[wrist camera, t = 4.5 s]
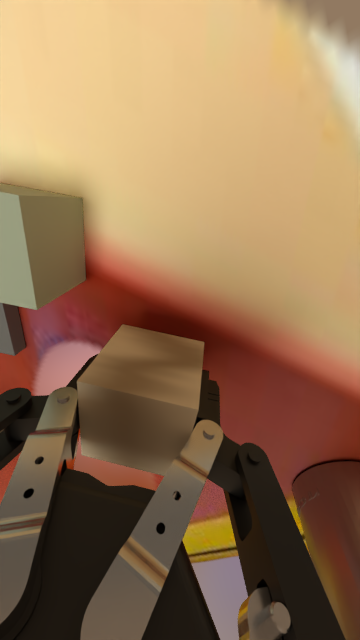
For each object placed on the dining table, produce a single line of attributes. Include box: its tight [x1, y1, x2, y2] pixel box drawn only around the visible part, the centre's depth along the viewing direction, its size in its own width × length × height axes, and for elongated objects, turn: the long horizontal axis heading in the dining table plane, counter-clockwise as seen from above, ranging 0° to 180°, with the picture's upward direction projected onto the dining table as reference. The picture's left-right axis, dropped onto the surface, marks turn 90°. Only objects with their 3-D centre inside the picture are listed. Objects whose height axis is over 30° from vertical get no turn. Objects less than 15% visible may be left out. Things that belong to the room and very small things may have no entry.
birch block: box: [77, 324, 204, 476], centre depth 12 cm, size 5×5×5 cm
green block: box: [0, 183, 86, 310], centre depth 12 cm, size 5×5×5 cm
